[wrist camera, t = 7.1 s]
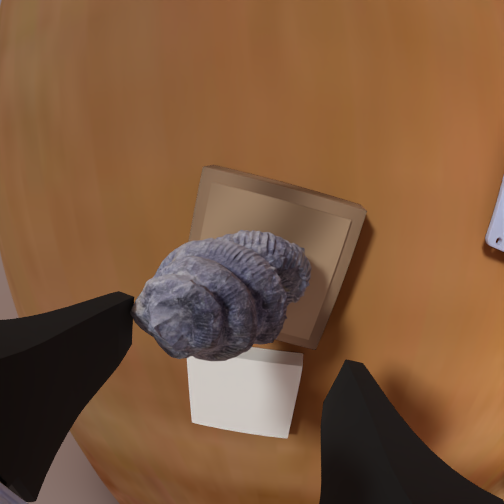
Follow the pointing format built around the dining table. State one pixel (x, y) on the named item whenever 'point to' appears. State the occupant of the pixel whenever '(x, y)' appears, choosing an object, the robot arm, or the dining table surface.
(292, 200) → the walnut base
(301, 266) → the seashell
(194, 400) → the ceramic tile
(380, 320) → the dining table surface
